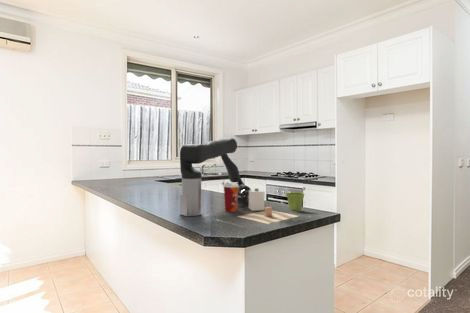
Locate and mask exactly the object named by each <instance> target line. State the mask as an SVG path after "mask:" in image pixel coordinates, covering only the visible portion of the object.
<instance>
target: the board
mask: <svg viewBox="0 0 470 313" xmlns="http://www.w3.org/2000/svg"><path fill="white" fill-rule="evenodd" d="M236 217H238V218H240V219H241V218H242V219H244V220H245V219H246V220H249V221H254V222H257V223H258V222H259V223H263V224H265V225H270V224H273V223H278V222H282V221H285V220H290V219H294V218H298V217H299V215H296V214H292V213H286V212H280V211H277V210H272V217H265V210H261V211H258V212H253V213H252V212H251V213H247V214H243V215H237V216H236Z"/></svg>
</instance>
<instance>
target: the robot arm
mask: <svg viewBox="0 0 470 313" xmlns="http://www.w3.org/2000/svg"><path fill="white" fill-rule="evenodd" d="M237 148H238V143H237V141H236V140H235V139H234V138H232V137H230V138H229V137H228V138H227V137H226V138H219V139H217V140H210V141H207V142H205V143H204V144H197V143H194V144H190V143H189V144H188V143H187V144H183V145H182V146H181V147H180V149H179V151H180V152H179V163H180V174H181V194H179V215H181V216H184V217H196V216H197V217H198V216H200V215H202V172H201V171H199V170H197V169H196V168H194V167H193V165H199V164H202V163H204V162H206V161H207V160H211V159H216V158H219V157H220V158H221V160H222V162H223V164H224V166H225V169H226V171H227V176H228V178H229V181H230V183H236V184H238V186H239V187H238V197H239V198H242V199H244V200H245V199H249V190H252V189H251V187H250V186H248V185H245V183H244V182H243V179H242V178H241V175H240V171H239V167H238V166H237V164H235V162H234V161H232V159H231V158H230V157H229V155H228V154H233V153H235V152H236V151H237Z"/></svg>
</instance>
